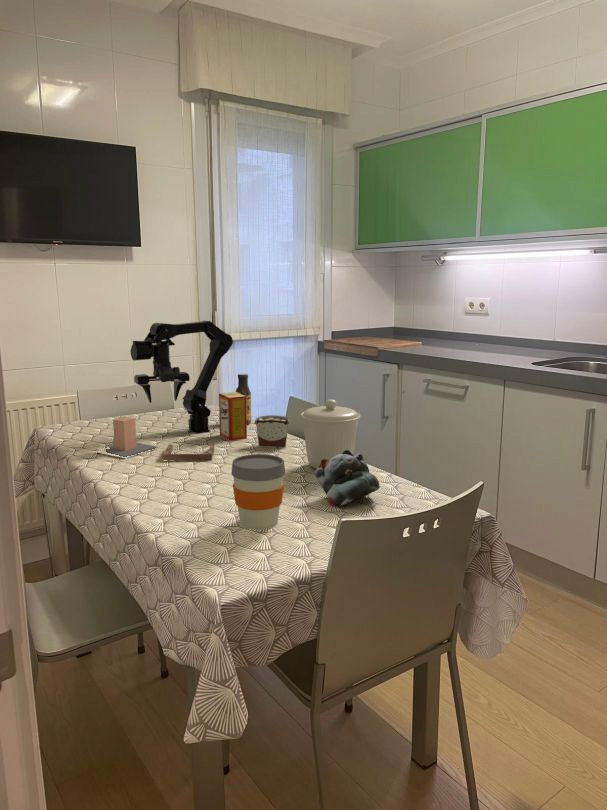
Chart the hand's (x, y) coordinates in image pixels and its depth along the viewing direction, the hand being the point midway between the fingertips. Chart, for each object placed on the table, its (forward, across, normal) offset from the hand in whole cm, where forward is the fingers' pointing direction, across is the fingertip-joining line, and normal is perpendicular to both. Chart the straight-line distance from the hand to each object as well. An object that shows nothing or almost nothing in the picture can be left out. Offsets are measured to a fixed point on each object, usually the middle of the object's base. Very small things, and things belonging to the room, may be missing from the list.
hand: (163, 401), depth 223 cm
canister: (+13, +34, -60) cm, 70 cm away
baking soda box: (+13, +22, -12) cm, 28 cm away
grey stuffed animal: (+13, +23, -87) cm, 91 cm away
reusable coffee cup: (+13, -4, -90) cm, 91 cm away
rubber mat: (+13, -17, -13) cm, 25 cm away
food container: (+13, +30, -29) cm, 44 cm away
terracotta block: (+12, -17, -13) cm, 25 cm away
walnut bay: (+13, 0, -28) cm, 31 cm away
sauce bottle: (+13, +34, +6) cm, 37 cm away
